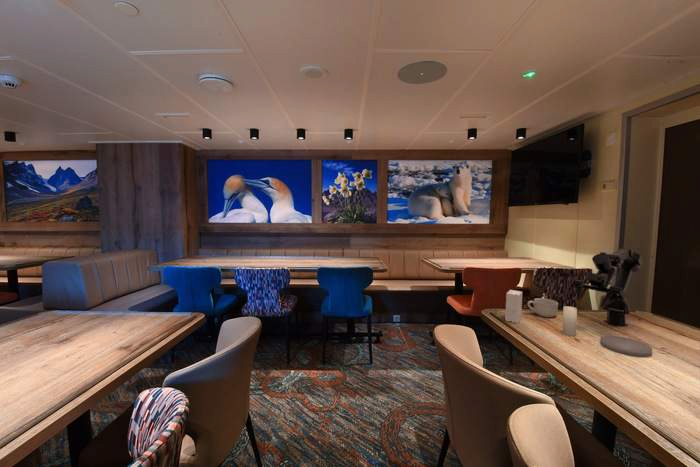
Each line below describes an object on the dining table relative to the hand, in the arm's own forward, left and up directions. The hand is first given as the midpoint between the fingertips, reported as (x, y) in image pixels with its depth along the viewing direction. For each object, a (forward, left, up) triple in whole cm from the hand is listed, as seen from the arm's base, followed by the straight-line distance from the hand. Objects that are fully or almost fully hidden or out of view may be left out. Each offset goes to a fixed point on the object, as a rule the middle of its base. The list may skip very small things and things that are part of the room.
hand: (589, 303), depth 129 cm
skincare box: (-17, -24, -14) cm, 33 cm away
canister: (0, -8, -14) cm, 16 cm away
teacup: (-25, -5, -14) cm, 29 cm away
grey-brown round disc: (+14, +4, -14) cm, 20 cm away
